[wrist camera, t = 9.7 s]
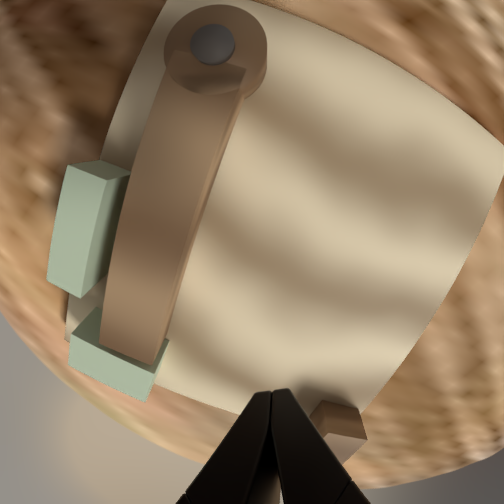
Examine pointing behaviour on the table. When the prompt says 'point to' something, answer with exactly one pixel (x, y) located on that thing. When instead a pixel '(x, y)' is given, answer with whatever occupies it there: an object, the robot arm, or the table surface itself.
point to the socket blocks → (94, 270)
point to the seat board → (314, 224)
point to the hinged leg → (177, 170)
